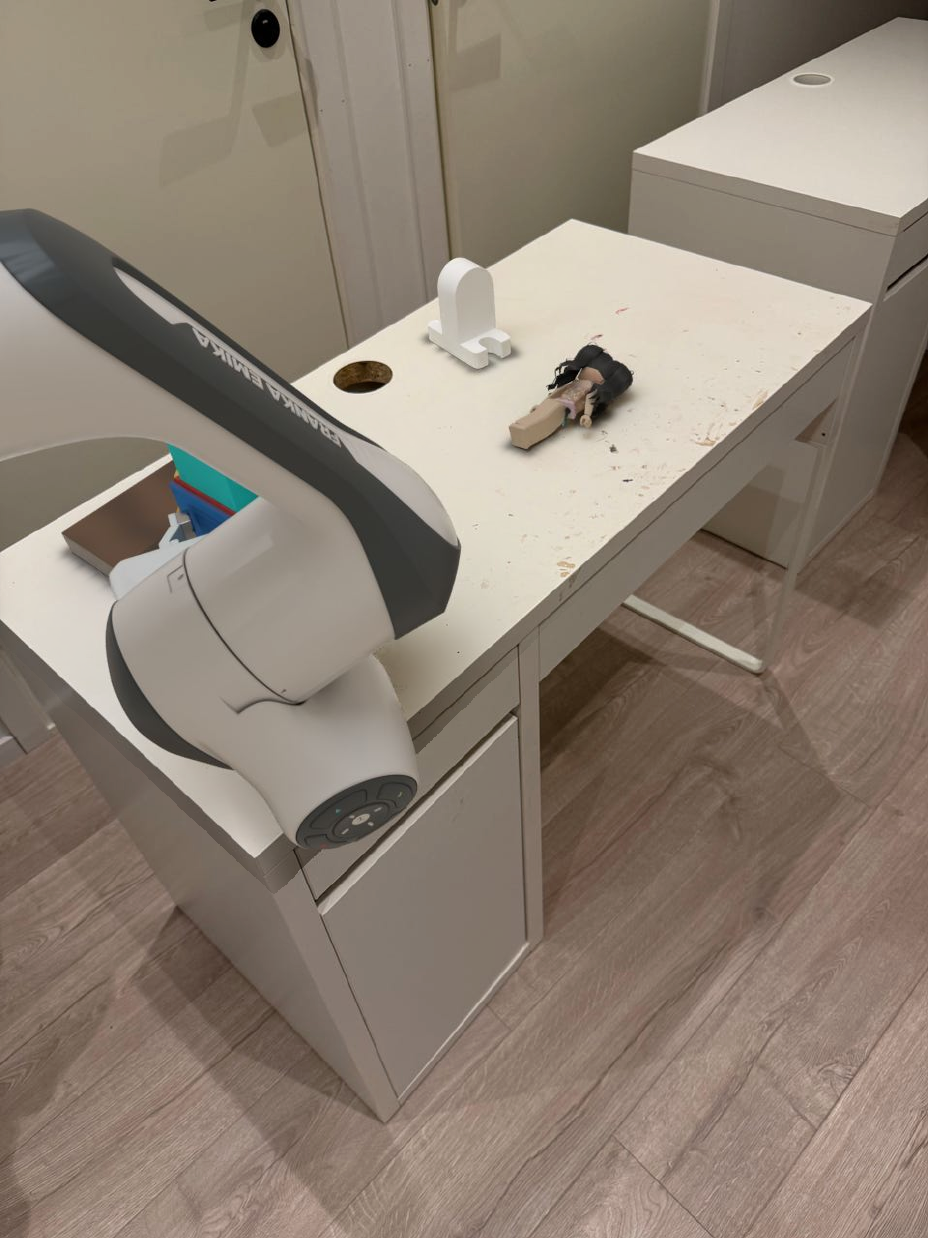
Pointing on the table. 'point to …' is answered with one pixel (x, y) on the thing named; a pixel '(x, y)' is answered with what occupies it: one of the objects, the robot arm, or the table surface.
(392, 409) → the table surface
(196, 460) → the toy robot
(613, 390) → the toy figure
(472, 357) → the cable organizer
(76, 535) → the brown slab
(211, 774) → the table surface
